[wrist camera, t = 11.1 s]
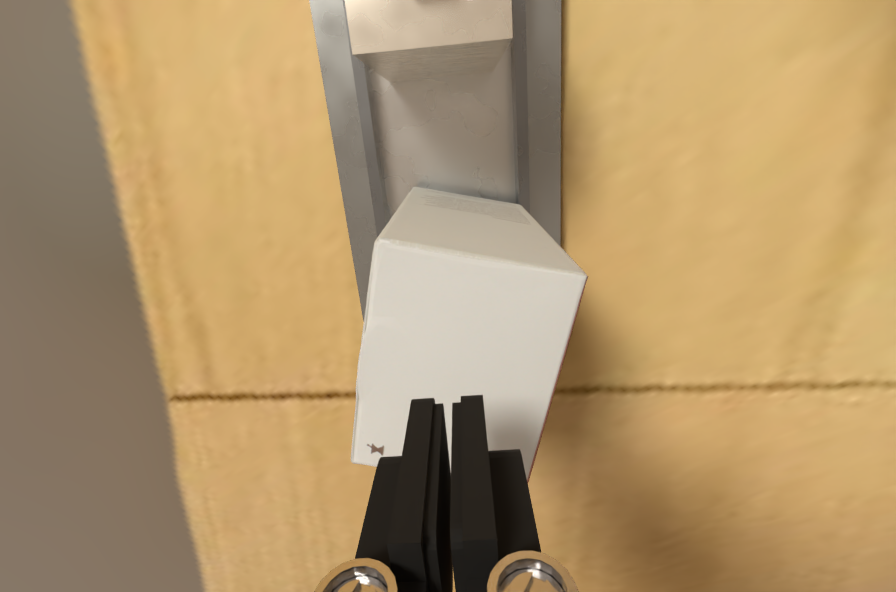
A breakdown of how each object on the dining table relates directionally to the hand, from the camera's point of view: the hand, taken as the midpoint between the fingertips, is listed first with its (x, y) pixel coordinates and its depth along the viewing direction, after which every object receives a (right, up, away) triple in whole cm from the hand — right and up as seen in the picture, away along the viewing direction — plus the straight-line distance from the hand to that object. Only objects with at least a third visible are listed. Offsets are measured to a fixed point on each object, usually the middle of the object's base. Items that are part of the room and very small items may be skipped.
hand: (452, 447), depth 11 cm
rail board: (0, +10, +16) cm, 20 cm away
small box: (0, +6, +15) cm, 16 cm away
